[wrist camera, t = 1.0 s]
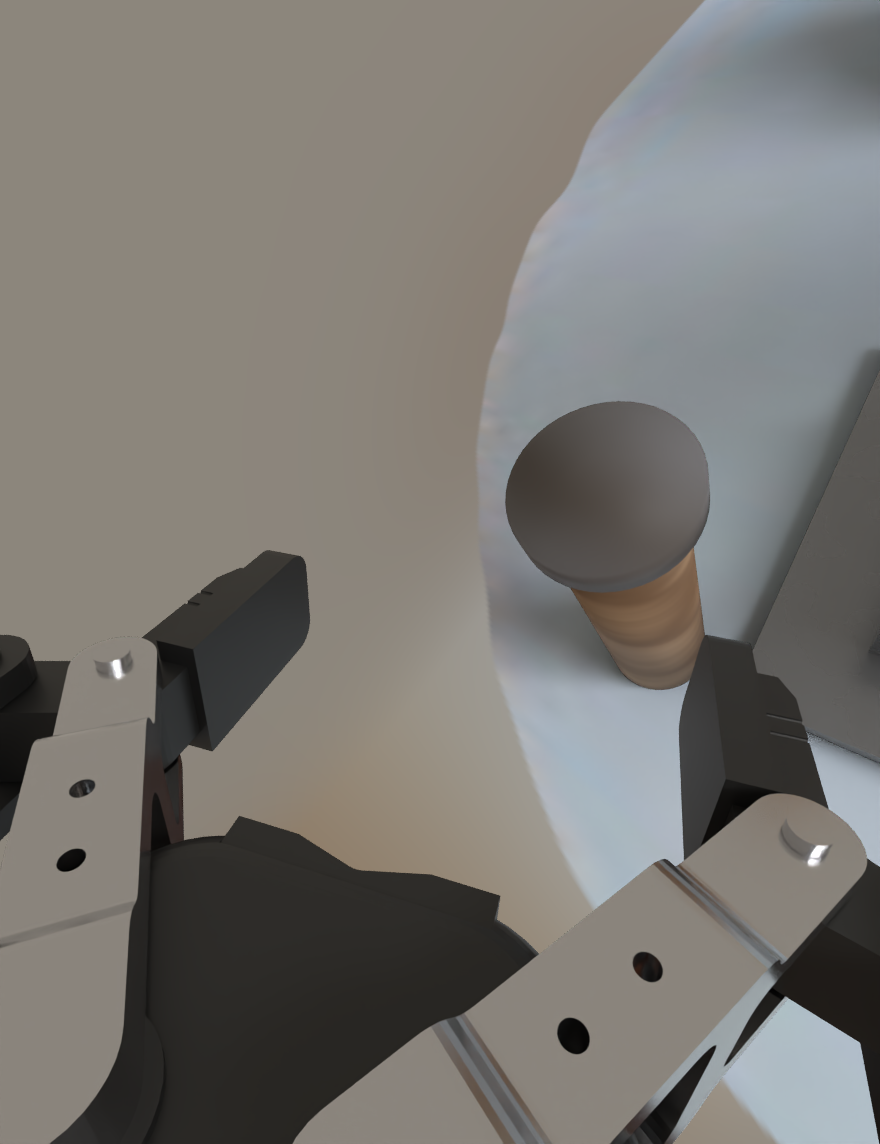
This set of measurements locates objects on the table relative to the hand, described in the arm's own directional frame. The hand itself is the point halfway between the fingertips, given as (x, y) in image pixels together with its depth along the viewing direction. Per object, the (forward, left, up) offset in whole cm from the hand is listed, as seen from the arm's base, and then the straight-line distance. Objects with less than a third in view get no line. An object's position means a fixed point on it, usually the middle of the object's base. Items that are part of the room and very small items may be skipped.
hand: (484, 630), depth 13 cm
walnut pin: (-6, -1, -20) cm, 21 cm away
